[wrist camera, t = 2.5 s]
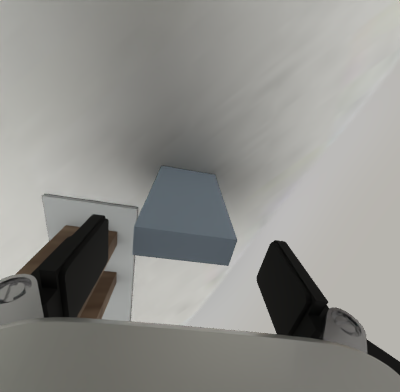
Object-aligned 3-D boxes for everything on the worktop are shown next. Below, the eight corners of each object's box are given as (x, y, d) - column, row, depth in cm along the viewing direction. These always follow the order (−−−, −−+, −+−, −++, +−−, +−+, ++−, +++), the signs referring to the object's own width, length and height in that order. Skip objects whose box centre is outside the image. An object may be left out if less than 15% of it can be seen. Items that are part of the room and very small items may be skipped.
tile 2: (70, 267, 23) (-8, 375, 14) (116, 272, 23) (70, 378, 14) (72, 278, 23) (-2, 387, 14) (116, 282, 24) (72, 390, 15)
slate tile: (161, 165, 18) (134, 226, 9) (215, 174, 19) (237, 240, 10) (159, 183, 19) (132, 254, 10) (210, 191, 20) (228, 265, 11)
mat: (44, 194, 19) (41, 195, 19) (137, 207, 20) (137, 209, 20) (71, 365, 32) (70, 368, 32) (127, 367, 33) (126, 370, 33)
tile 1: (65, 225, 20) (-35, 323, 11) (117, 231, 21) (61, 329, 12) (67, 238, 21) (-26, 341, 12) (117, 244, 22) (64, 346, 13)
